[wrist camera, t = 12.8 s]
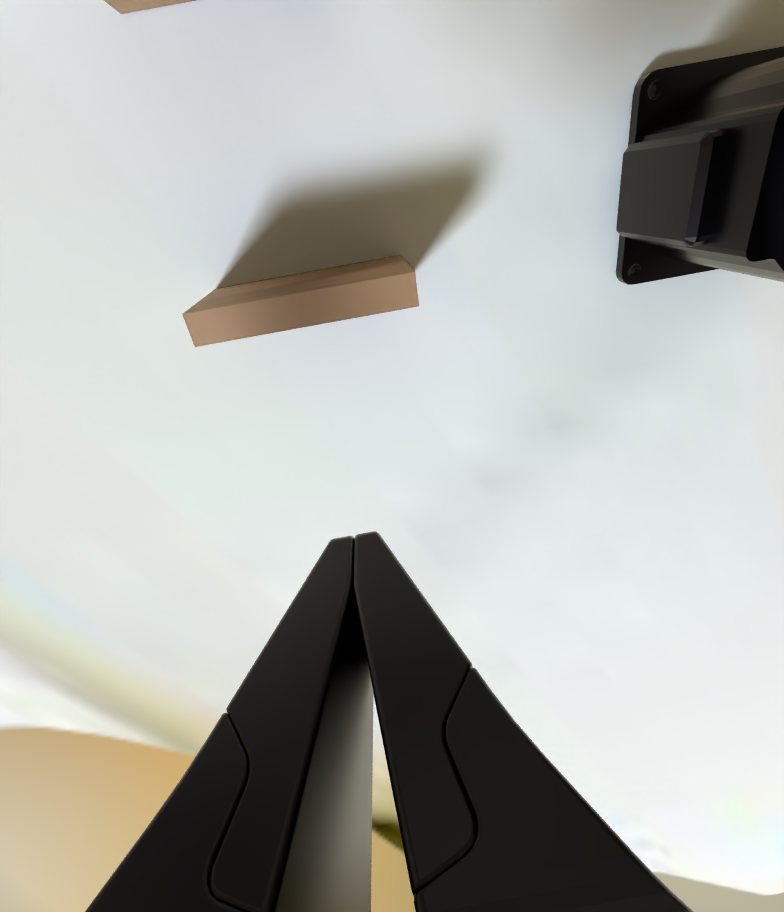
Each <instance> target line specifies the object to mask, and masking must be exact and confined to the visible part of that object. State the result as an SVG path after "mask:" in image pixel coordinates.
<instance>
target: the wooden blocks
mask: <svg viewBox="0 0 784 912" xmlns="http://www.w3.org/2000/svg"><path fill="white" fill-rule="evenodd" d="M104 1H105V2H107V3H108V4H109V5H110V6H112V7H113V8H114V9H115V10H117V11H118V12H119V13H121V14H123V13H129V12H134V11H140V10H145V9H151V8H156V7H162V6H167V5H173V4H178V3H184V2H189V1H195V0H104ZM417 306H419V301H418V293H417V284H416V276H415V271H414V270H413V269H412V268H411V267H410V266H409V264H408V263H407V262H406V261H405V260H404V259H403V258H402V257H401V255H399V256H394V257H388V258H383V259H377V260H372V261H366V262H361V263H355V264H350V265H344V266H339V267H333V268H328V269H323V270H317V271H312V272H306V273H301V274H295V275H290V276H284V277H279V278H273V279H268V280H262V281H257V282H251V283H246V284H240V285H235V286H229V287H224V288H218V289H215V290H213V291H212V292H211V293H209V294H208V295H207V296H206V297H204V298H203V299H202V300H200V301H199V302H198V303H196V304H195V305H194V306H192V307H191V308H190V309H188V310H187V311H186V312H185V313H183V314H182V315H183V317H184V320H185V322H186V325H187V328H188V330H189V333H190V335H191V338H192V340H193V343H194V346H195V347H197V346H203V345H208V344H214V343H219V342H225V341H230V340H236V339H241V338H247V337H252V336H258V335H263V334H269V333H274V332H280V331H285V330H291V329H296V328H302V327H307V326H313V325H318V324H324V323H329V322H335V321H340V320H346V319H351V318H357V317H362V316H368V315H373V314H379V313H384V312H390V311H395V310H401V309H406V308H412V307H417Z"/></svg>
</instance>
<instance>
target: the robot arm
mask: <svg viewBox="0 0 784 912" xmlns="http://www.w3.org/2000/svg"><path fill="white" fill-rule="evenodd" d="M651 82H652V83H654V85H655V87H656V92H655V95H654V97H653V98H652V99H650V98H649V97H648V93H647V90H648V87H649V85H650V84H651ZM617 232H618V233H619V234H620V237H619V247H618V257H617V268H616V275H617V278H618V280H619V281H621V282H623V283H626V284H638V283H644V282H649V281H655V280H660V279H666V278H671V277H677V276H682V275H688V274H693V273H699V272H704V271H710V270H715V269H724V270H729V271H733V272H738V273H743V274H748V275H753V276H758V277H762V278H767V279H772V280H777V281H782V282H784V47H779V48H774V49H768V50H763V51H757V52H752V53H746V54H741V55H735V56H730V57H724V58H719V59H713V60H708V61H702V62H697V63H691V64H686V65H680V66H675V67H669V68H664V69H658V70H655V71H653V72H650V73H648V74H646V75H644V76H643V77H642V78H641V79H640V80H639V81H638V83H637V84H636V86H635V89H634V93H633V100H632V111H631V121H630V132H629V142H628V148H627V149H626V151H625V152H624V154H623V163H622V174H621V185H620V195H619V206H618V217H617ZM633 264H635V270H634V272H633V274H632V275H630V276H628V270H629V268H630V267H631V266H632V265H633ZM373 693H374V698H375V703H376V708H377V714H378V719H379V724H380V729H381V734H382V739H383V745H384V750H385V755H386V760H387V765H388V770H389V776H390V781H391V786H392V791H393V796H394V801H395V807H396V812H397V817H398V822H399V827H400V833H401V838H402V843H403V848H404V853H405V858H406V863H407V869H408V874H409V879H410V884H411V889H412V893H413V895H414V905H415V910H416V912H693V911H692V910H691V909H690V908H689V907H688V906H687V905H686V904H685V903H683V902H682V901H681V900H680V899H679V898H678V897H677V896H676V895H675V894H674V893H673V892H672V891H670V890H669V889H668V887H667V886H665V885H664V884H663V883H662V882H661V881H660V880H659V879H658V878H657V877H656V876H655V875H654V874H653V873H652V872H651V871H650V869H649V868H648V867H647V866H646V865H645V864H644V863H643V862H642V861H641V860H640V859H639V858H638V857H637V856H636V855H635V854H634V853H633V852H632V851H631V849H630V848H629V847H628V846H627V845H626V844H625V843H624V842H623V841H622V840H621V839H620V837H619V836H618V835H617V834H616V833H615V832H614V831H613V830H612V829H611V828H610V826H609V825H608V824H607V823H606V822H605V821H604V820H603V819H602V818H601V817H600V816H599V814H598V813H597V812H596V811H595V810H594V809H593V808H592V807H591V806H590V805H589V804H588V802H587V801H586V800H585V799H584V798H583V797H582V796H581V795H580V794H579V793H578V792H577V790H576V789H575V788H574V787H573V786H572V785H571V784H570V783H569V782H568V781H567V780H566V778H565V777H564V776H563V775H562V774H561V773H560V772H559V771H558V770H557V769H556V767H555V766H554V765H553V764H552V763H551V762H550V761H549V760H548V759H547V758H546V757H545V755H544V754H543V753H542V752H541V751H540V750H539V748H538V747H537V746H536V745H535V744H534V743H533V742H532V740H531V739H530V738H529V737H528V736H527V735H526V733H525V732H524V731H523V730H522V729H521V728H520V726H519V725H518V724H517V723H516V722H515V721H514V719H513V718H512V717H511V715H510V714H509V713H508V712H507V710H506V709H505V708H504V706H503V705H502V704H501V702H500V701H499V700H498V698H497V697H496V696H495V695H494V693H493V692H492V691H491V689H490V688H489V687H488V685H487V684H486V682H485V681H484V680H483V678H482V677H481V675H480V674H479V673H478V671H477V670H476V669H475V668H473V667H472V663H471V662H470V661H469V659H468V658H467V656H466V655H465V654H464V652H463V651H462V649H461V648H460V647H459V645H458V644H457V642H456V641H455V640H454V638H453V637H452V635H451V634H450V633H449V631H448V630H447V628H446V627H445V626H444V624H443V623H442V621H441V620H440V619H439V617H438V616H437V614H436V613H435V612H434V610H433V609H432V607H431V606H430V605H429V603H428V602H427V600H426V599H425V598H424V596H423V595H422V593H421V592H420V591H419V589H418V588H417V586H416V585H415V584H414V582H413V581H412V579H411V578H410V577H409V575H408V574H407V572H406V571H405V570H404V568H403V567H402V565H401V564H400V563H399V561H398V560H397V558H396V557H395V556H394V554H393V553H392V551H391V550H390V549H389V547H388V546H387V544H386V543H385V542H384V540H383V539H382V537H381V536H380V535H379V533H377V532H368V533H363V534H358V535H356V536H355V539H354V537H352V536H347V537H341V538H336V539H332V540H331V541H330V542H329V543H328V545H327V547H326V548H325V550H324V551H323V553H322V555H321V556H320V558H319V560H318V561H317V563H316V564H315V566H314V568H313V569H312V571H311V572H310V574H309V576H308V577H307V579H306V581H305V582H304V584H303V585H302V587H301V589H300V590H299V592H298V594H297V595H296V597H295V598H294V600H293V602H292V603H291V605H290V606H289V608H288V610H287V611H286V613H285V615H284V616H283V618H282V619H281V621H280V623H279V624H278V626H277V627H276V629H275V631H274V632H273V634H272V636H271V637H270V639H269V640H268V642H267V644H266V645H265V647H264V648H263V650H262V652H261V653H260V655H259V657H258V658H257V660H256V661H255V663H254V665H253V666H252V668H251V670H250V671H249V673H248V674H247V676H246V678H245V679H244V681H243V682H242V684H241V686H240V687H239V689H238V691H237V692H236V694H235V695H234V697H233V699H232V700H231V702H230V703H229V705H228V707H227V709H226V710H227V713H228V714H227V713H224V714H222V716H221V718H220V719H219V721H218V722H217V724H216V726H215V727H214V729H213V731H212V732H211V734H210V735H209V737H208V739H207V740H206V742H205V743H204V745H203V746H202V748H201V749H200V751H199V752H198V754H197V756H196V757H195V759H194V760H193V762H192V763H191V765H190V766H189V768H188V769H187V771H186V772H185V774H184V776H183V777H182V779H181V780H180V782H179V783H178V784H177V786H176V787H175V789H174V790H173V792H172V793H171V794H170V796H169V797H168V799H167V800H166V801H165V803H164V804H163V806H162V807H161V809H160V810H159V812H158V813H157V814H156V816H155V817H154V818H153V820H152V821H151V823H150V824H149V825H148V827H147V828H146V830H145V831H144V832H143V834H142V835H141V836H140V838H139V839H138V840H137V842H136V843H135V845H134V846H133V847H132V849H131V850H130V851H129V853H128V854H127V855H126V857H125V858H124V860H123V861H122V862H121V864H120V865H119V866H118V868H117V869H116V871H115V872H114V873H113V874H112V876H111V877H110V879H109V880H108V881H107V883H106V884H105V885H104V887H103V888H102V890H101V891H100V892H99V894H98V895H97V896H96V898H95V899H94V900H93V902H92V903H91V904H90V906H89V907H88V909H87V910H86V911H85V912H371V844H372V842H371V841H372V761H373Z"/></svg>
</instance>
